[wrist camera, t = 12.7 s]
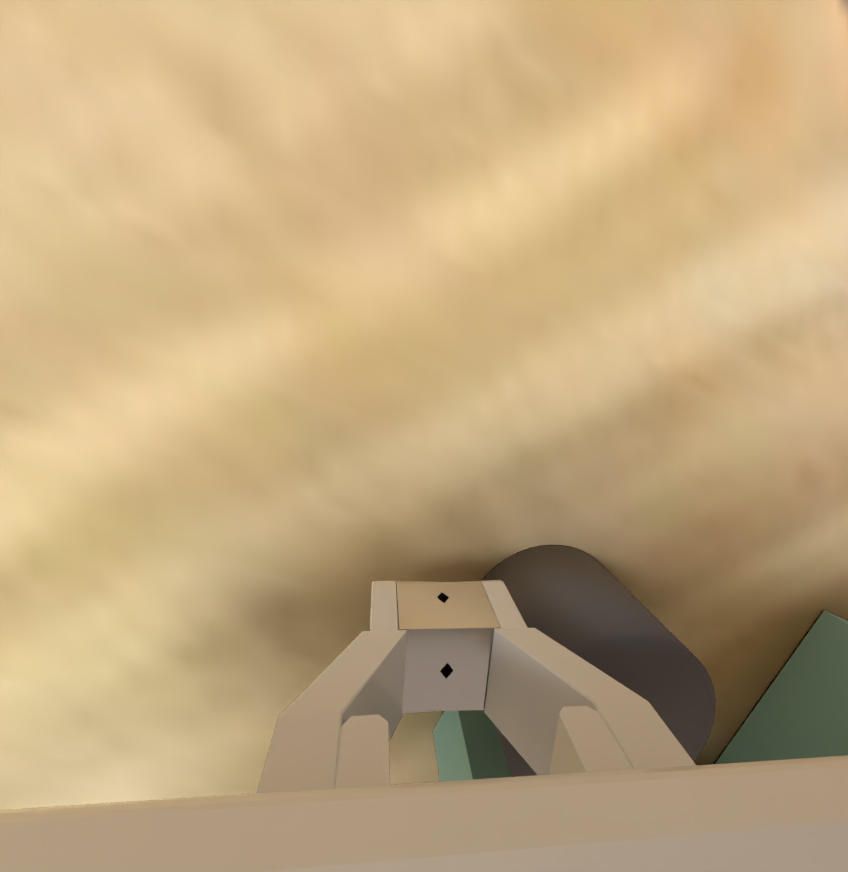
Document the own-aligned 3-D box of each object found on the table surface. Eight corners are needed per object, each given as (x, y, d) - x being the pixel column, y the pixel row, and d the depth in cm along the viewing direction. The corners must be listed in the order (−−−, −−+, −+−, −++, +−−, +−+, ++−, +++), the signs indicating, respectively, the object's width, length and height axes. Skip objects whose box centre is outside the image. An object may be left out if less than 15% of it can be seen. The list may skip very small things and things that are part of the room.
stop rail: (562, 1026, 16) (593, 1143, 14) (289, 990, 14) (270, 1123, 11) (856, 624, 13) (963, 686, 10) (563, 495, 11) (615, 537, 8)
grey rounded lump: (571, 697, 12) (645, 833, 9) (441, 657, 11) (467, 790, 8) (643, 574, 11) (755, 671, 8) (510, 522, 11) (571, 606, 7)
